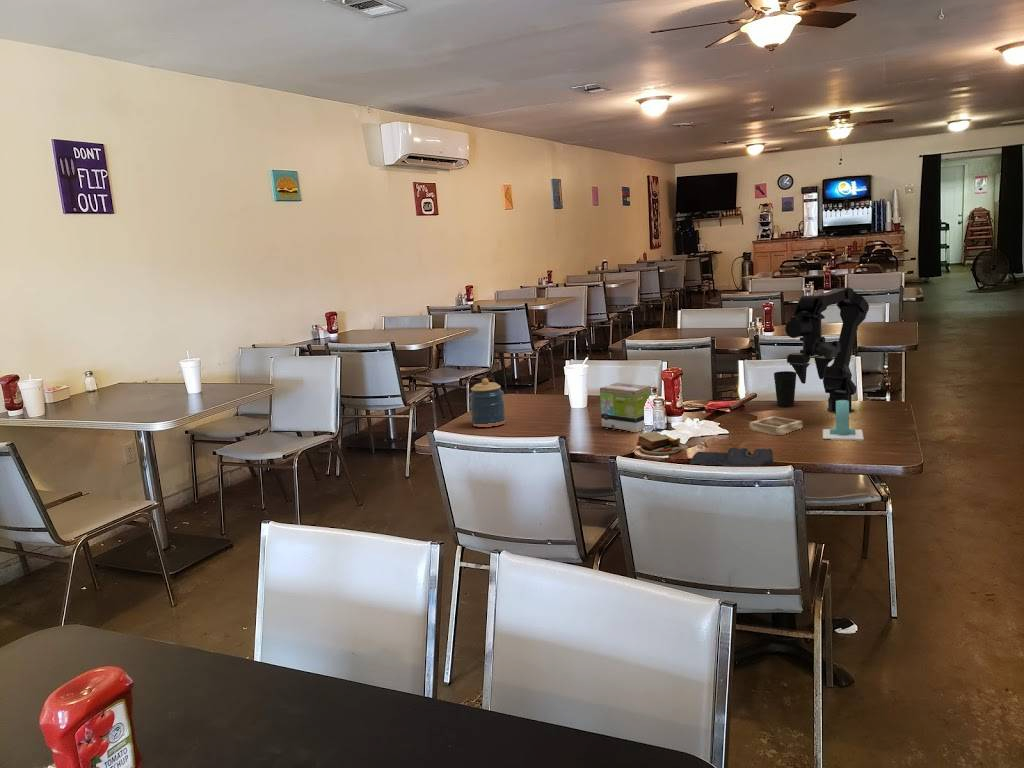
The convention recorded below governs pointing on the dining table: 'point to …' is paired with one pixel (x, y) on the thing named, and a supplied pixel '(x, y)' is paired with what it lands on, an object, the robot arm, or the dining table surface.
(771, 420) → the socket collar
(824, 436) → the mat
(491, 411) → the canister
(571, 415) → the dining table surface
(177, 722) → the dining table surface
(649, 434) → the toy sandwich meal
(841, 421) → the t key
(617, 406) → the tea box
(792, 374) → the cup
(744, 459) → the dark slate chunk
